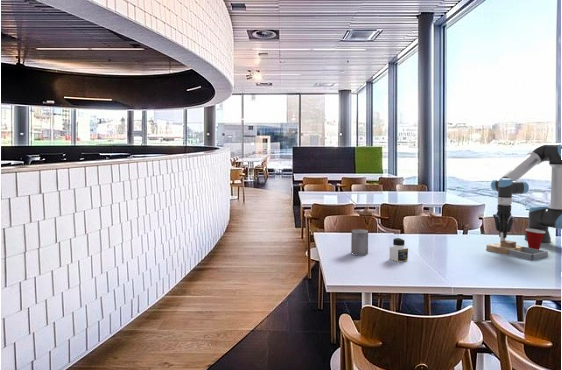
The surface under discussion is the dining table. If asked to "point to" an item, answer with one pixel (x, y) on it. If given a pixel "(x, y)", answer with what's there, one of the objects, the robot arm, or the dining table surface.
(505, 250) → the board
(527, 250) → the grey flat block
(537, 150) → the robot arm
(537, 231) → the plastic cup
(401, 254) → the medicine bottle
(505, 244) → the brown square block
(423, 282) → the dining table surface
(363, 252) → the pillar candle
